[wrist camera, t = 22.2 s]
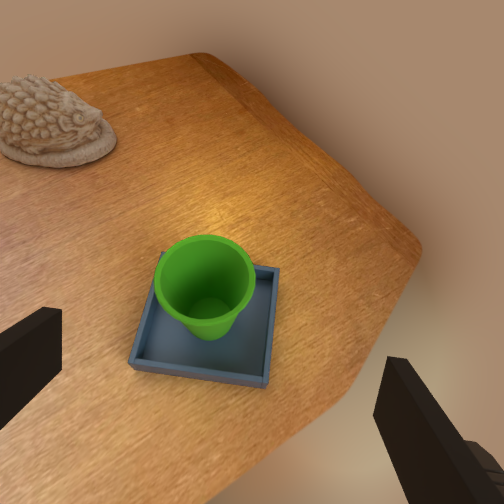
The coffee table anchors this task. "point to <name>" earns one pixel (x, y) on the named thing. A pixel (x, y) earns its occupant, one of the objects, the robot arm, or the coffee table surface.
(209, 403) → the coffee table surface
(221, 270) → the cup
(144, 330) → the blue tray
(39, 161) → the sculpture
